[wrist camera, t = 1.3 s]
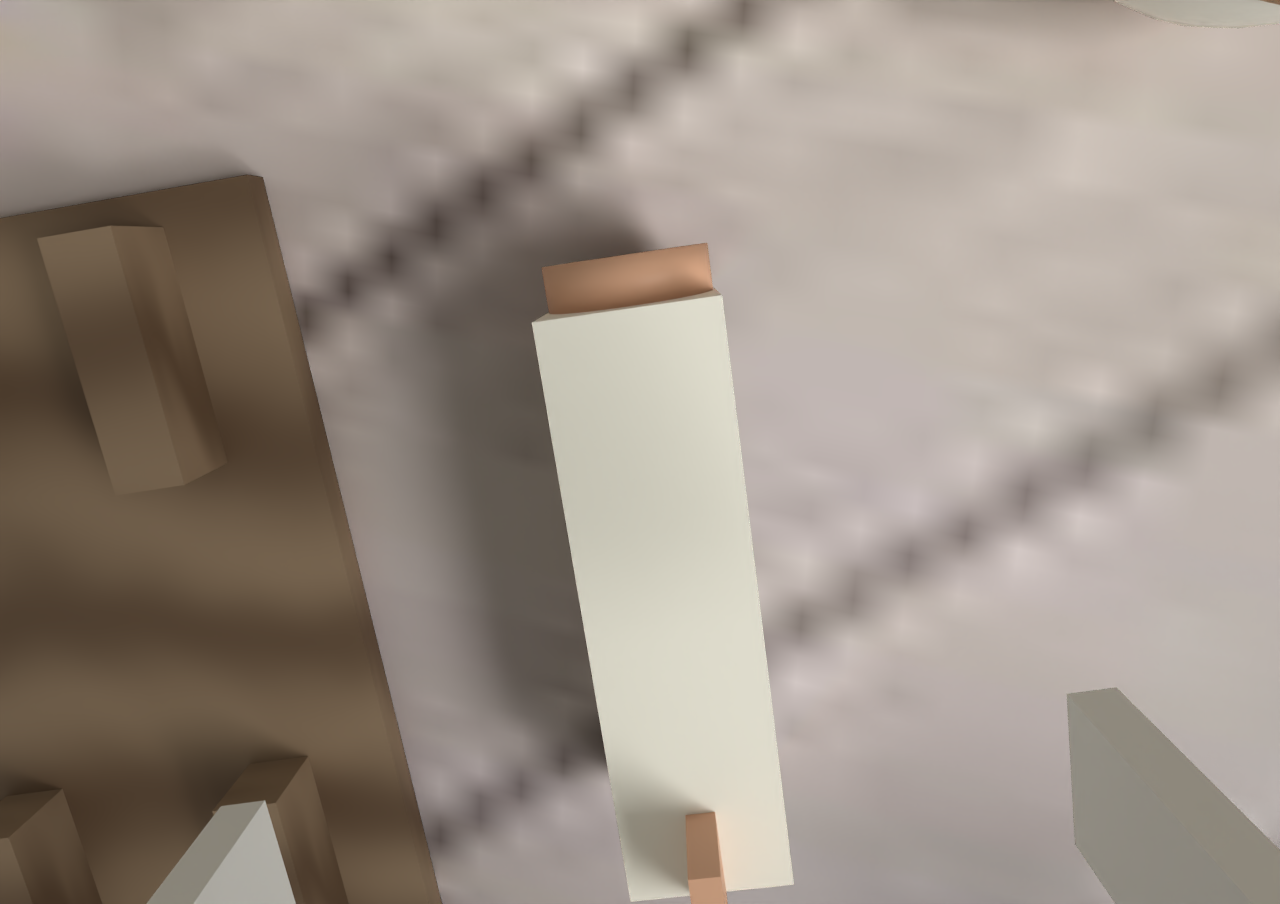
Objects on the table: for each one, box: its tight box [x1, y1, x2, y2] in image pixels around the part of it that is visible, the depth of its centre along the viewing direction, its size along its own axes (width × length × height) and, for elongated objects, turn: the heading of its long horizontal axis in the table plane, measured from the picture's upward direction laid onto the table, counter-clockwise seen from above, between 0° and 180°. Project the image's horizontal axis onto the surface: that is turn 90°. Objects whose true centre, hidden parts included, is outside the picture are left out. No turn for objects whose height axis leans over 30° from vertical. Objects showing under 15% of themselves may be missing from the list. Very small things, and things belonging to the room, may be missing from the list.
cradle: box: [0, 175, 442, 904], centre depth 28 cm, size 26×16×4 cm, turn 9°
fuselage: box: [532, 243, 794, 904], centre depth 24 cm, size 17×4×8 cm, turn 8°
